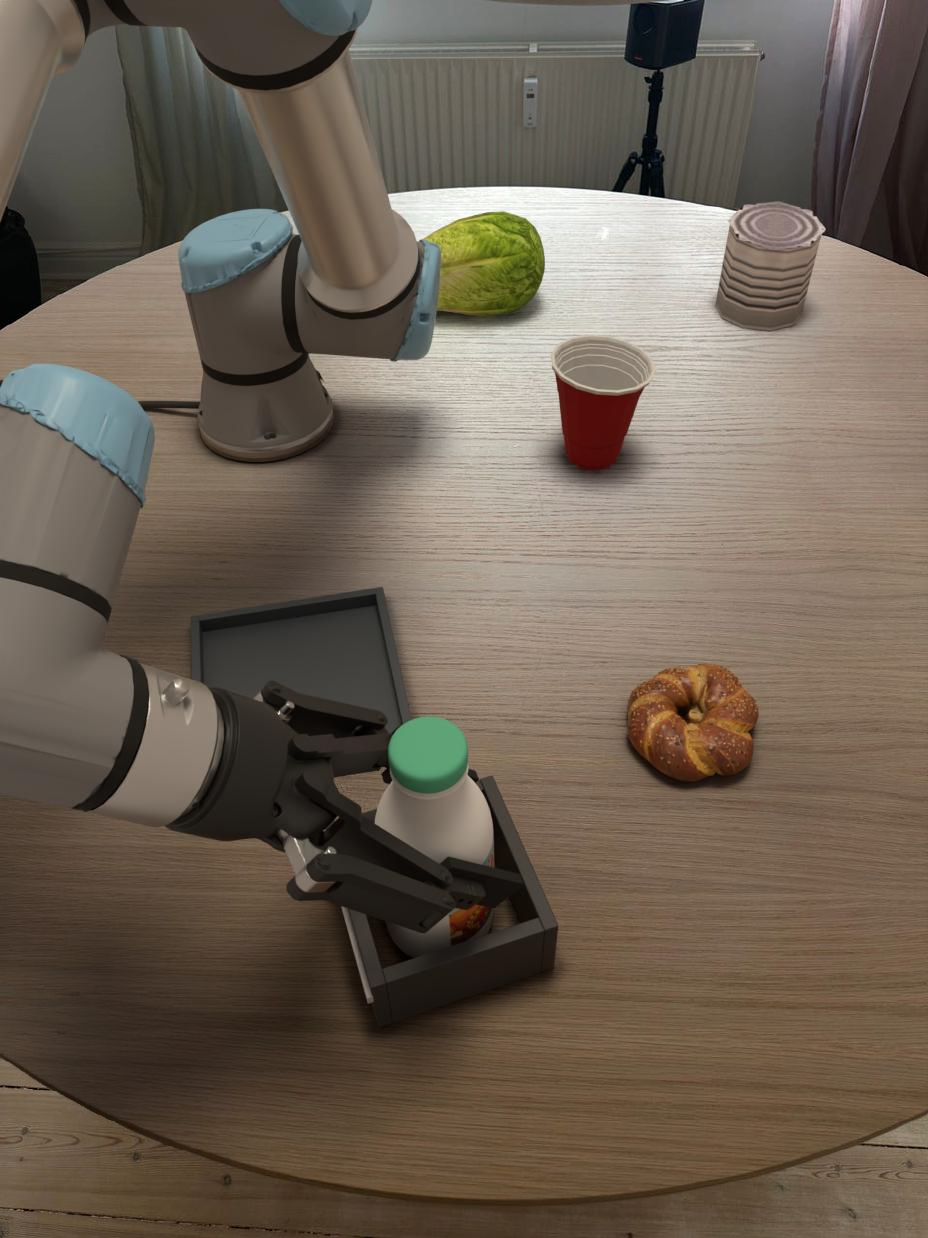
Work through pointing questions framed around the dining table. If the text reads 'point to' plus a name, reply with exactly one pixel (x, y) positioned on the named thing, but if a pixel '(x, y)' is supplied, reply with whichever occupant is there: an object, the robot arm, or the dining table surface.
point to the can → (767, 265)
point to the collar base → (472, 960)
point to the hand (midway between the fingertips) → (484, 837)
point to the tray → (306, 651)
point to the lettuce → (488, 264)
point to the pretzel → (693, 722)
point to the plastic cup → (598, 395)
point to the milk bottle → (437, 820)
